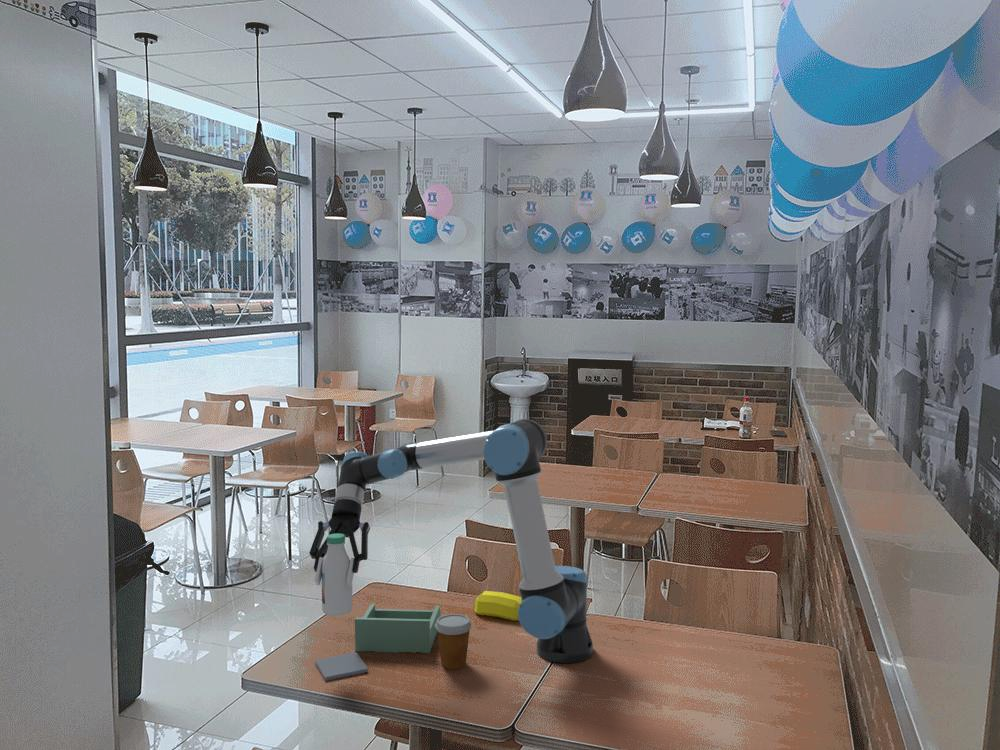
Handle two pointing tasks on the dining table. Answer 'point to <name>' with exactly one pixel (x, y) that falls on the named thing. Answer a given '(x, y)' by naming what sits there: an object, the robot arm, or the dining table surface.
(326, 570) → the milk bottle
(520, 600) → the yellow faceted block
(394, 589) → the dining table surface
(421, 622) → the green wooden frame
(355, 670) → the slate tile
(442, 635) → the disposable coffee cup
